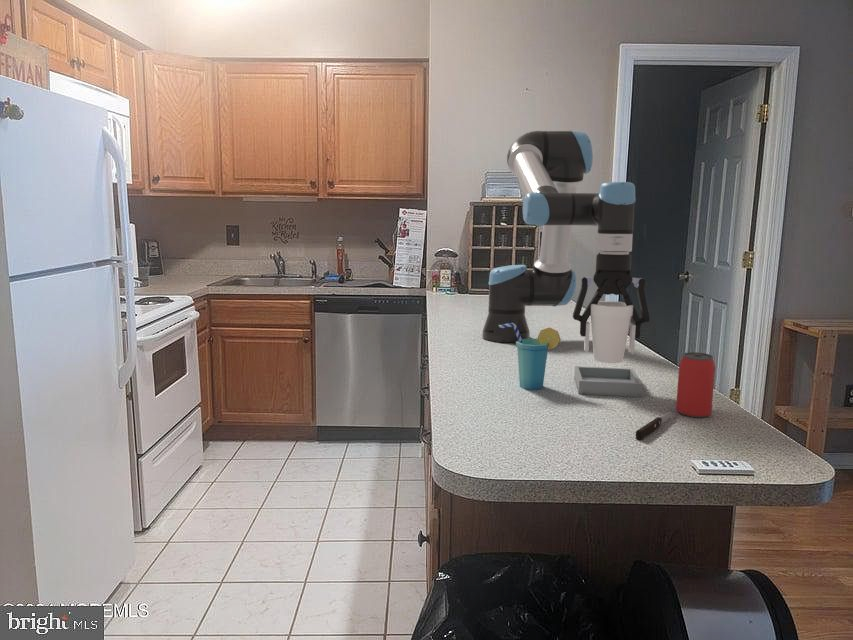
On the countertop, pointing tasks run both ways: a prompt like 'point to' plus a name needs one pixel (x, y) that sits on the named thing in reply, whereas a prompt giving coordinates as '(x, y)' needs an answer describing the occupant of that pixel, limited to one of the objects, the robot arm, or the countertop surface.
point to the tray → (608, 381)
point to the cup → (533, 356)
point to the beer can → (695, 384)
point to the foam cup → (610, 330)
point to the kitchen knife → (652, 426)
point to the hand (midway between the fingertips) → (608, 351)
